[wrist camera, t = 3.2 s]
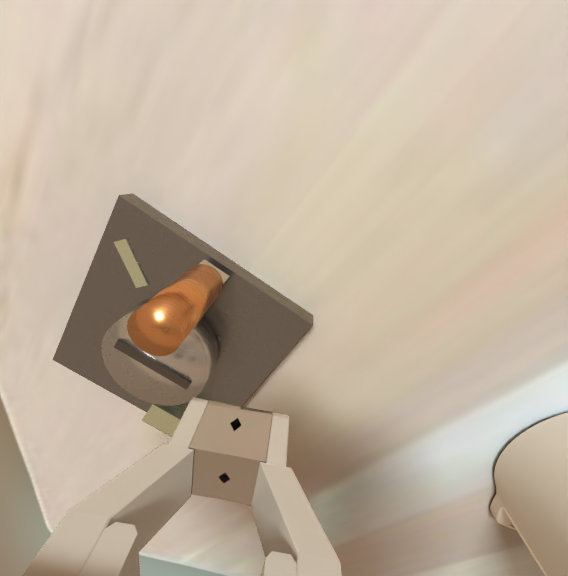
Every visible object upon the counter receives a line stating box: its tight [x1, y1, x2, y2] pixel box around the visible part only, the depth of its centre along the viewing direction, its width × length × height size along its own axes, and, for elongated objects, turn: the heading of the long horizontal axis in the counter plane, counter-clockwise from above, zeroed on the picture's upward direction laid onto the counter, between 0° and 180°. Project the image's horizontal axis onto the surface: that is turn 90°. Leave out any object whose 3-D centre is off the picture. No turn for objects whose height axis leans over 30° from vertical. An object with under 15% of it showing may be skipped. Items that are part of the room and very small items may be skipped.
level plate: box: [53, 194, 313, 437], centre depth 23 cm, size 16×17×3 cm
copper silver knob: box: [102, 259, 229, 406], centre depth 18 cm, size 8×13×8 cm, turn 145°
